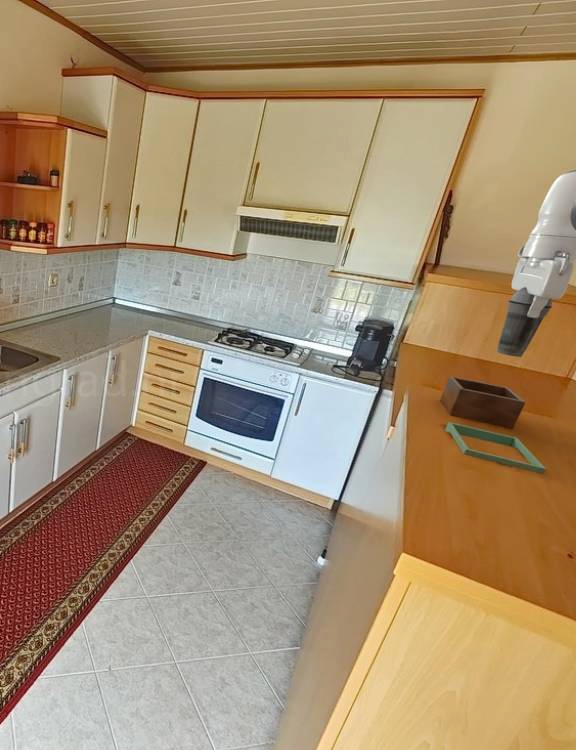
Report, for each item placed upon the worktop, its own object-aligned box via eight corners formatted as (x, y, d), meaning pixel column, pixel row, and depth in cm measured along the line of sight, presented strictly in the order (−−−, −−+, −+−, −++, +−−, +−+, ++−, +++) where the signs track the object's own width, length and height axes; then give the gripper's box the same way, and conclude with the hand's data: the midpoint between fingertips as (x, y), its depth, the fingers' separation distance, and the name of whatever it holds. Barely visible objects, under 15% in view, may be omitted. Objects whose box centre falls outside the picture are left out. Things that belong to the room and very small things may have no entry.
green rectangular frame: (512, 448, 104) (517, 437, 104) (540, 480, 91) (546, 468, 90) (444, 432, 109) (448, 421, 108) (460, 460, 96) (465, 449, 95)
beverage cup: (490, 353, 111) (526, 263, 104) (487, 347, 117) (521, 262, 110) (532, 360, 107) (572, 268, 101) (526, 354, 113) (564, 267, 106)
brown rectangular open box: (497, 412, 127) (508, 387, 124) (513, 429, 116) (525, 402, 114) (439, 400, 132) (449, 375, 129) (449, 414, 121) (460, 388, 119)
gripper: (593, 254, 94) (561, 324, 99) (552, 251, 112) (527, 311, 116) (551, 250, 97) (522, 318, 102) (517, 248, 114) (494, 306, 119)
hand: (525, 314), depth 109 cm, fingers closed on beverage cup, 6 cm apart
